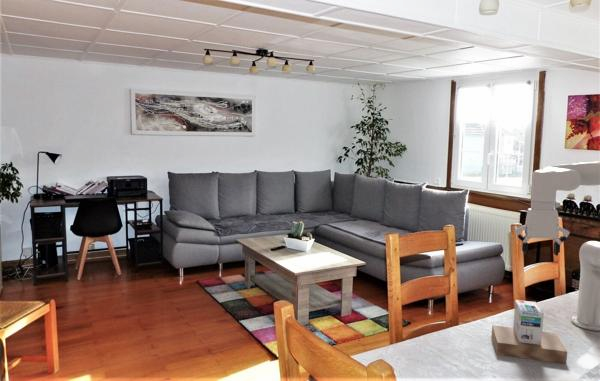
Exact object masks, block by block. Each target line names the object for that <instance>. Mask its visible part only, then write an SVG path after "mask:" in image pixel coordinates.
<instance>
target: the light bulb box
mask: <svg viewBox="0 0 600 381" xmlns="http://www.w3.org/2000/svg"><path fill="white" fill-rule="evenodd" d="M514 302H515V303H514V318H513V327H512V328H513V330H514V332H515V334H516V336H517V339H518V341H519V342H521V343H529V344H537V345H541V340H542V331H543V326H544V324H543V323H544V312H543V310H542V309H541V308H540V306H539V305H538V303H537V302H536V301H528V300H521V299H515V301H514Z"/></svg>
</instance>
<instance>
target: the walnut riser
mask: <svg viewBox="0 0 600 381" xmlns="http://www.w3.org/2000/svg"><path fill="white" fill-rule="evenodd" d="M491 327H492V328H491V339H492V343H493V346H494V350H495V354H496V355H501V356H506V357H515V358H522V359H528V360H536V361H543V362H549V363H557V364H563V365H565V364H566V365H567V358H568V350H567V349H566V347H565V345H564V344H563V342H562V340H561V339H560V337H559V335H558V333H555V332H550V331H549V332H548V331H543V330H542V340H541V345H537V344H529V343H521V342H519V341H518V339H517V336H516V334H515V332H514V330H513V327H508V326H502V325H501V326H500V325H492V326H491Z"/></svg>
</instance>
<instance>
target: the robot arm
mask: <svg viewBox="0 0 600 381" xmlns="http://www.w3.org/2000/svg"><path fill="white" fill-rule="evenodd" d="M580 186H585V187H586V186H593V187H594V186H595V187H596V186H600V160H596V161H592V162H591V161H589V162H587V161H586V162H579V163H578V162H577V163H566V164H565V163H564V164H557V165H551V166H546V167H544V168H542V169H537V170H534V171H533V172H532V180H531V196H530V208H527V212H526V217H525V224H524V225H522V226H520V227H517V228H515V229H514V232H515V235H516V236H517V238H518V239H519V240H520V241H521V242H522V243H521V244H522V245H521V249H522V250H521V251H522V252H523V253H524V255H528V254H529V243H528V241H529V240H530V239H545V240H548V239H549V240H550V239H551V240H554V243H553V252H552V253H553V255H555V256H559V253H561V245H562V243H564V242H565V241H566V240H567V238H568V237H569V235H570V234H571V232H570V231H569V230H568V229H565V228H563V227H562V226H560V225H559V224H560V222H559V220H560V219H559V212H558V210H557V208H559V207H561V203H560V202H557V201H556V200H557V191H562V192H563V191H564V192H571V191H575V190H577V189H578V188H579V187H580ZM522 231H524V234H525V235H524V236H523V235H522V234H521V232H522ZM560 232H561V233H562V235H561V236H560V237H559V235H560ZM578 256H579V263H580V275H579V276H580V277H579V283H578V284H579V286H578V295H577V305H576V306H577V307H576V315H572V317H571V318H570V321H571V323H572V324H573V325H575V326H577V327H580V328H582V329H585V330H589V331H593V332H594V331H596V332H600V241H598V240H590V241H586V242H584V243H583V244H582V245H581V246H580V248H579V253H578Z"/></svg>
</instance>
